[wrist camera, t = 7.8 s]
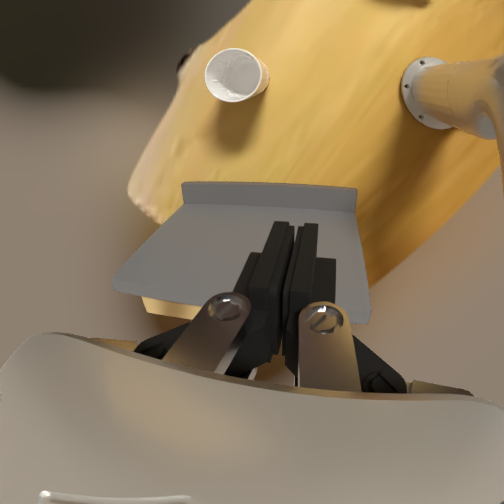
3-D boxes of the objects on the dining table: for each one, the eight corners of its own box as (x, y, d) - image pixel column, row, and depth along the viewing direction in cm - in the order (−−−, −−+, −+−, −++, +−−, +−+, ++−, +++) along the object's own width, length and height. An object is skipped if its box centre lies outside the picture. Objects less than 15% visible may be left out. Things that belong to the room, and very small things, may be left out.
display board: (356, 188, 47) (380, 281, 25) (350, 238, 52) (360, 347, 31) (184, 181, 54) (100, 253, 32) (191, 227, 59) (123, 312, 38)
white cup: (267, 104, 42) (253, 108, 34) (222, 93, 43) (199, 96, 35) (278, 61, 38) (268, 54, 30) (232, 51, 38) (211, 44, 30)
